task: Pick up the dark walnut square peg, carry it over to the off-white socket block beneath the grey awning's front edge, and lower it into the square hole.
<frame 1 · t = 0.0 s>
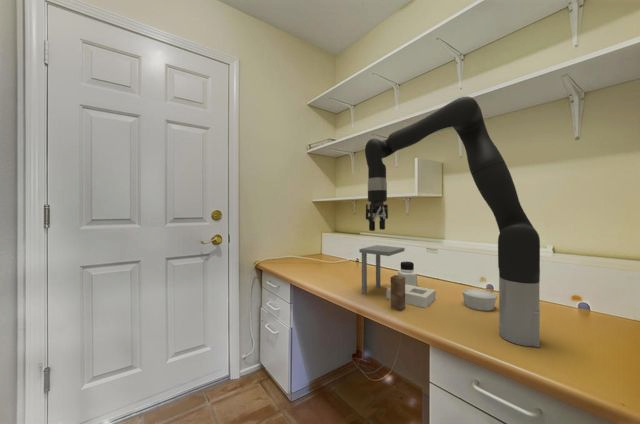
hand: (377, 230, 103), 29 cm above the worktop, tool pointing down, fingers open, 8 cm apart
ramekin: (478, 307, 98), on the worktop
awning: (382, 292, 115), on the worktop
medicine bottle: (407, 287, 124), on the worktop
socket block: (411, 299, 106), on the worktop
peg: (397, 308, 96), on the worktop
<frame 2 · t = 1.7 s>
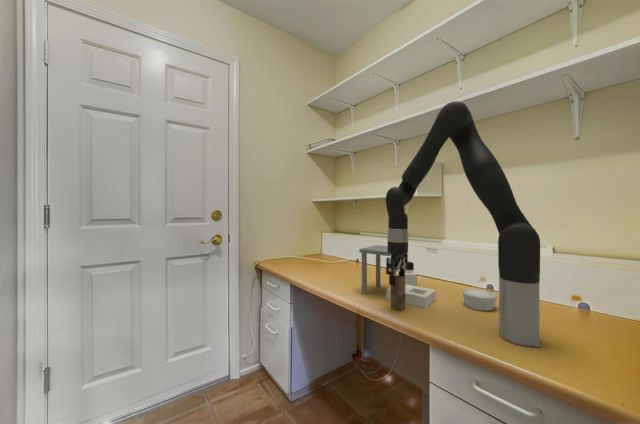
hand: (397, 283, 96), 10 cm above the worktop, tool pointing down, fingers open, 8 cm apart
nothing on the worktop moved.
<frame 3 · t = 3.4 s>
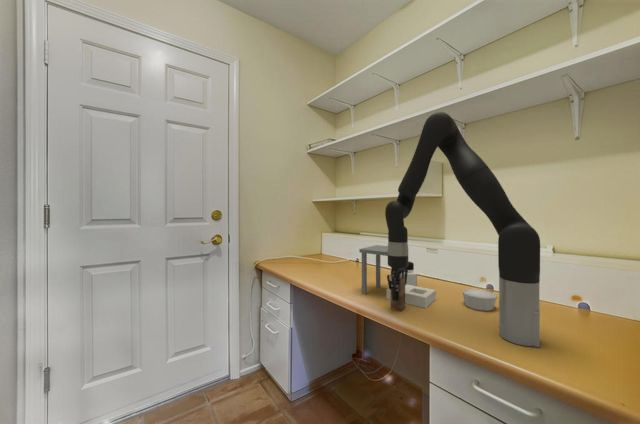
hand: (398, 298, 96), 4 cm above the worktop, tool pointing down, fingers closed on peg, 4 cm apart
peg: (398, 308, 96), on the worktop, touching gripper
everything else where it was.
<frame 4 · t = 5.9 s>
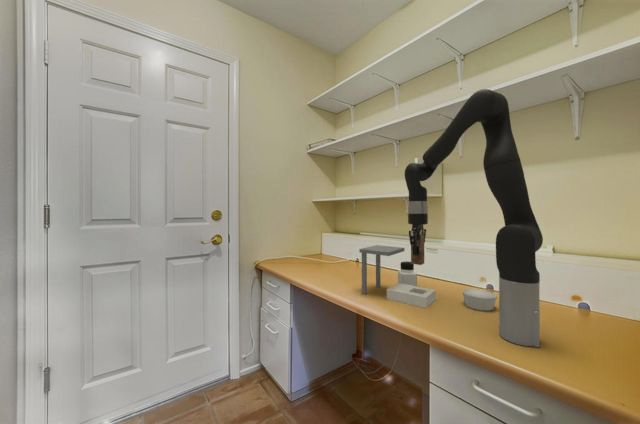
hand: (417, 254, 104), 19 cm above the worktop, tool pointing down, fingers closed on peg, 4 cm apart
peg: (417, 263, 104), point 15 cm above the worktop, touching gripper
everything else where it was.
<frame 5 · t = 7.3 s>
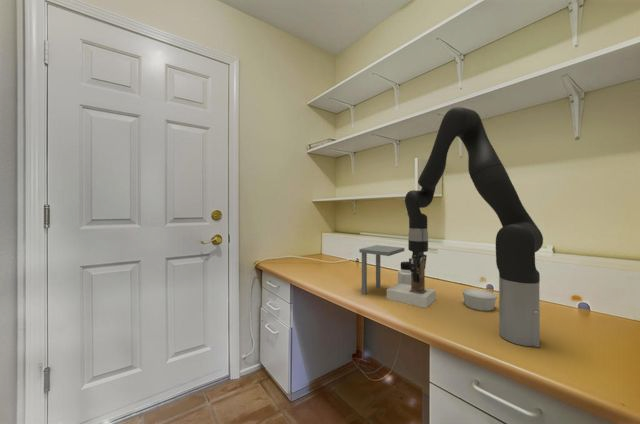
hand: (418, 280, 104), 8 cm above the worktop, tool pointing down, fingers closed on peg, 4 cm apart
peg: (417, 290, 104), point 4 cm above the worktop, touching gripper
everything else where it was.
when the fingers open (5 cm above the worktop, at t = 8.6 s): peg drops 1 cm, resting in socket block.
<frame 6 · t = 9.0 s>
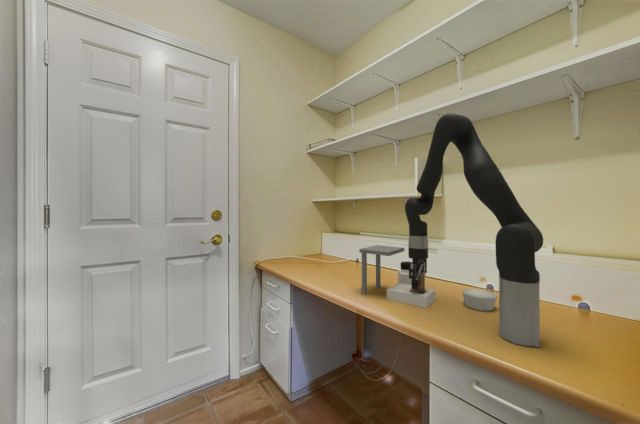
hand: (418, 286, 104), 6 cm above the worktop, tool pointing down, fingers open, 7 cm apart
peg: (418, 300, 104), resting in socket block
everything else where it was.
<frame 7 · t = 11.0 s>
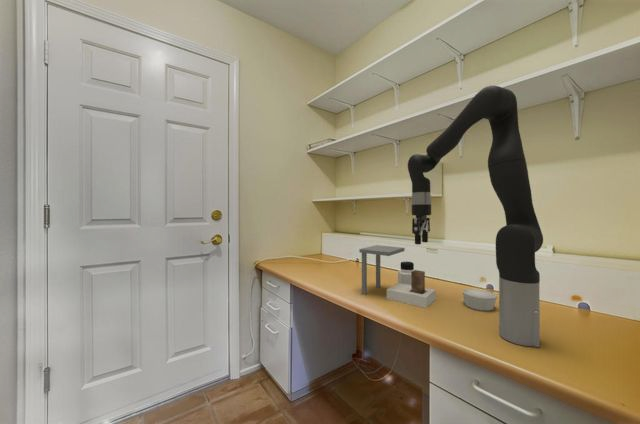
hand: (421, 243, 104), 24 cm above the worktop, tool pointing down, fingers open, 8 cm apart
nothing on the worktop moved.
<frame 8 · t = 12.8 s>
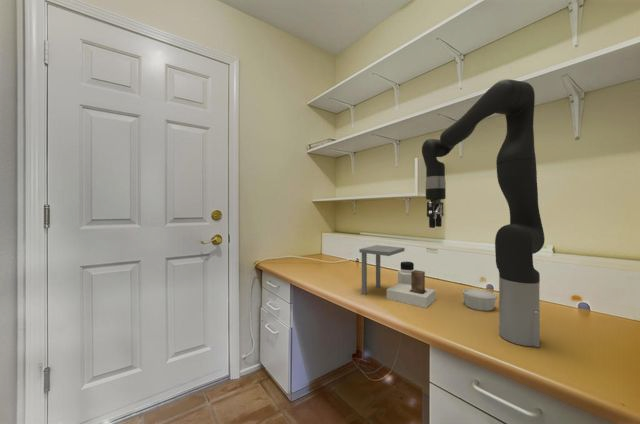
hand: (435, 227, 105), 30 cm above the worktop, tool pointing down, fingers open, 8 cm apart
nothing on the worktop moved.
at the end: peg 0.1 cm from the target spot on the socket block, point 0.0 cm above the socket block's base; peg tilted 0°; the gripper is holding nothing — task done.
